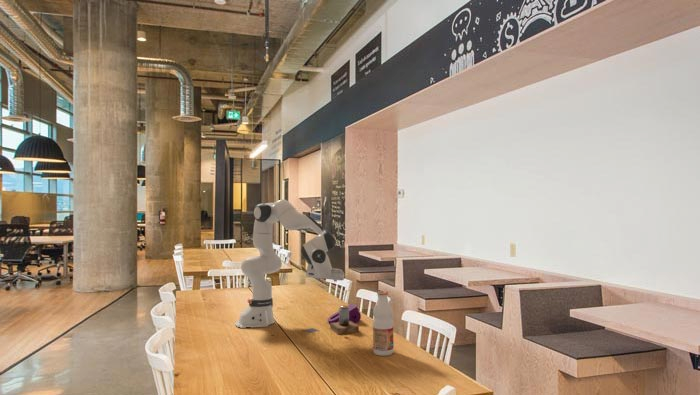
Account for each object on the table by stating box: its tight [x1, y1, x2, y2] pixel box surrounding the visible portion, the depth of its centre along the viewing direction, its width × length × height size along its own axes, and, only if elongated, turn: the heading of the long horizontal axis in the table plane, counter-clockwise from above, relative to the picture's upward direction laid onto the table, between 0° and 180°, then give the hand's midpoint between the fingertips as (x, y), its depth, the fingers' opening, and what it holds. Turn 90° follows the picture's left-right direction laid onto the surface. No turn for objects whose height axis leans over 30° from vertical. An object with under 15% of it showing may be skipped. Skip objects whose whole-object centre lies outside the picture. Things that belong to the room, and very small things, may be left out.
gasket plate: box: [301, 327, 320, 334], centre depth 247 cm, size 7×7×1 cm
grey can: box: [338, 304, 349, 326], centre depth 247 cm, size 6×6×10 cm
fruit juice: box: [372, 290, 394, 357], centre depth 209 cm, size 9×9×28 cm
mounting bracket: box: [327, 303, 362, 325], centre depth 264 cm, size 9×8×18 cm
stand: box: [329, 321, 360, 335], centre depth 247 cm, size 12×12×3 cm
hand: (327, 279), depth 247 cm, fingers open, 8 cm apart
